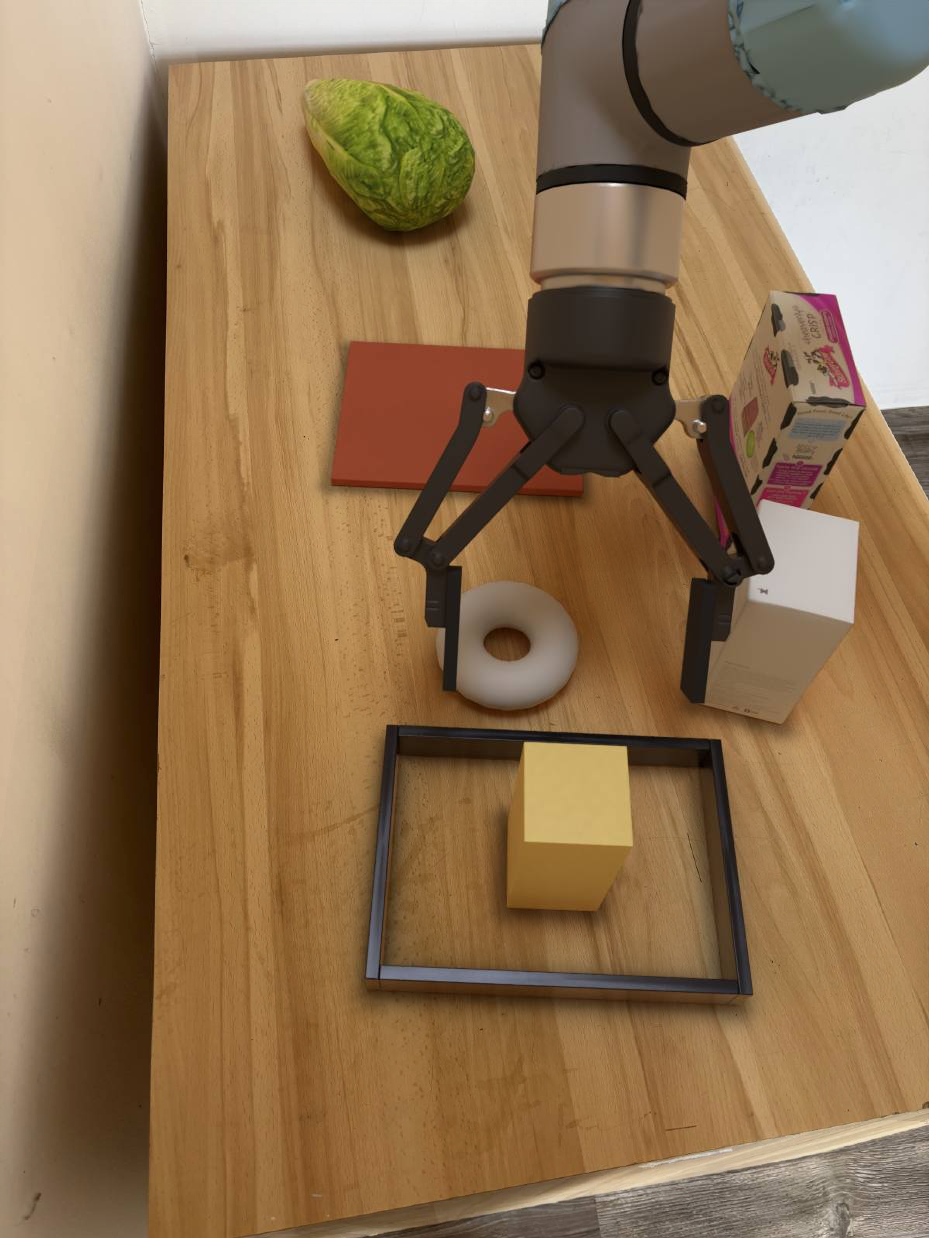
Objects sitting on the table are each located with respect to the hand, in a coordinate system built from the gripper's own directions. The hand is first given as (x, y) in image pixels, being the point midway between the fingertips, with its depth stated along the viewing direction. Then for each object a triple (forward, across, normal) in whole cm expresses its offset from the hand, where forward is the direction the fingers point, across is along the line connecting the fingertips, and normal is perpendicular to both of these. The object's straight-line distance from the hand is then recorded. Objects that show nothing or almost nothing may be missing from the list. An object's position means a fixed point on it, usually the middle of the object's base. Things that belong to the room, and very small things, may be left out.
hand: (570, 691), depth 52 cm
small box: (+2, -14, -14) cm, 20 cm away
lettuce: (-38, +17, -54) cm, 68 cm away
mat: (-14, +7, -30) cm, 34 cm away
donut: (+2, +3, -14) cm, 15 cm away
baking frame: (+12, 0, -4) cm, 13 cm away
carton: (+12, 0, -4) cm, 13 cm away
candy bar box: (-9, -16, -25) cm, 31 cm away
